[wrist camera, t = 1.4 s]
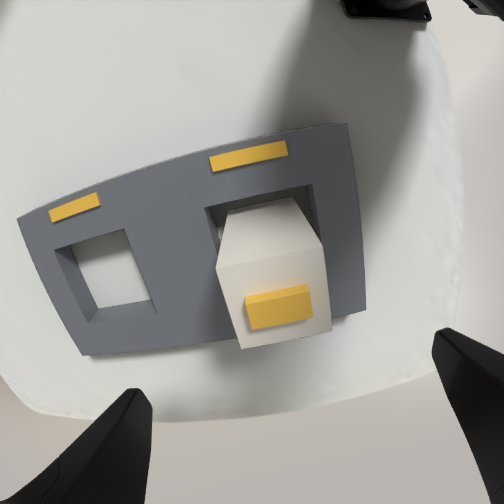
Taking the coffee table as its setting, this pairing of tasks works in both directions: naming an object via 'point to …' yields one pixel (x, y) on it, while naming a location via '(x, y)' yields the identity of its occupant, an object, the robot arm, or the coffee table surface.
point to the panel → (194, 236)
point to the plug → (273, 274)
